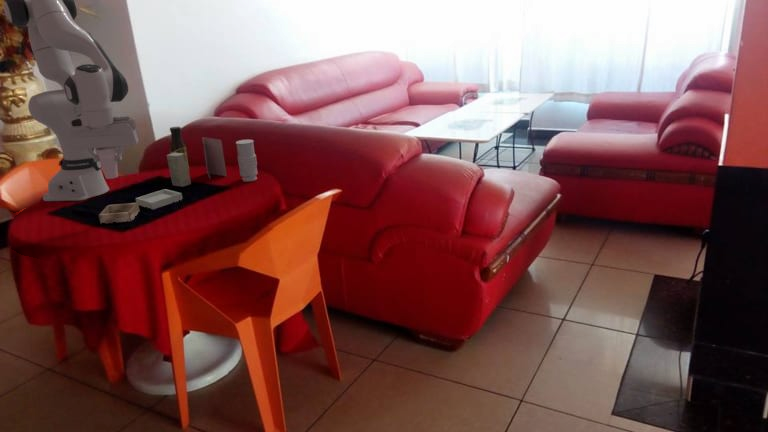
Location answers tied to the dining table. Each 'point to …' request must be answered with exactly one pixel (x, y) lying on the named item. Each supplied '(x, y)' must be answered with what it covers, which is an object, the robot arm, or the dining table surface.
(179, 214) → the dining table surface
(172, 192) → the tray
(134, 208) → the frame
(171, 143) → the sauce bottle
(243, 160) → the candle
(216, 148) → the greeting card
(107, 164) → the smoothie
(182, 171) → the skincare box
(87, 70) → the robot arm
